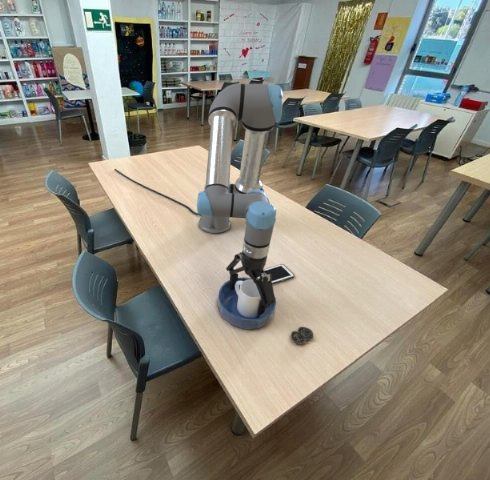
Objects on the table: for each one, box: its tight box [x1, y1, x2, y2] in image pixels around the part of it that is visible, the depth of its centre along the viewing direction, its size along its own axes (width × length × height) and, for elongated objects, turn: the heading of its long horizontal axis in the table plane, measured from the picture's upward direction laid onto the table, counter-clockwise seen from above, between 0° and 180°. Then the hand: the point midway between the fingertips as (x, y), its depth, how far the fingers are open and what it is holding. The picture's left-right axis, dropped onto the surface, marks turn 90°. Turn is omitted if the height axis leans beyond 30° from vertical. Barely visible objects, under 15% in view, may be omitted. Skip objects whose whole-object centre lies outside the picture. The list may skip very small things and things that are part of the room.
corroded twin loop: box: [290, 326, 314, 345], centre depth 88 cm, size 5×8×1 cm, turn 118°
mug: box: [235, 279, 262, 318], centre depth 95 cm, size 12×8×10 cm
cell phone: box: [256, 263, 295, 285], centre depth 110 cm, size 8×15×1 cm, turn 112°
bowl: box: [217, 276, 277, 330], centre depth 97 cm, size 19×19×5 cm
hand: (246, 300), depth 96 cm, fingers open, 13 cm apart
